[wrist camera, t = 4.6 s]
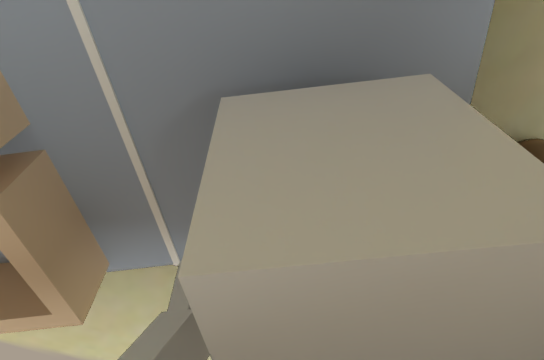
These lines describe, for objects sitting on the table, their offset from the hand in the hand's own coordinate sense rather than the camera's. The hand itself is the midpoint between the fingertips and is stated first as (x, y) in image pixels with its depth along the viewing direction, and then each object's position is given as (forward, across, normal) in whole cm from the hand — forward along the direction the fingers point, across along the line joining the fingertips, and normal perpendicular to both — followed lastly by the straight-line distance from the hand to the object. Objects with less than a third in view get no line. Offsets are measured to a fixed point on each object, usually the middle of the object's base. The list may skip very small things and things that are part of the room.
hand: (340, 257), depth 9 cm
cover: (+2, 0, 0) cm, 2 cm away
